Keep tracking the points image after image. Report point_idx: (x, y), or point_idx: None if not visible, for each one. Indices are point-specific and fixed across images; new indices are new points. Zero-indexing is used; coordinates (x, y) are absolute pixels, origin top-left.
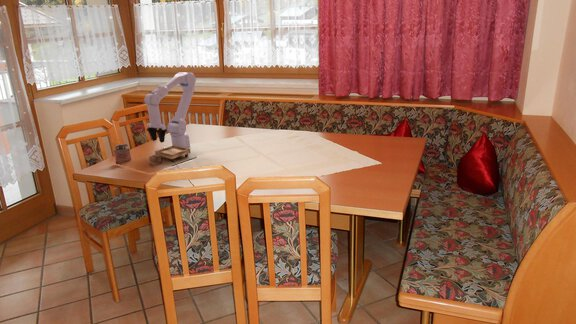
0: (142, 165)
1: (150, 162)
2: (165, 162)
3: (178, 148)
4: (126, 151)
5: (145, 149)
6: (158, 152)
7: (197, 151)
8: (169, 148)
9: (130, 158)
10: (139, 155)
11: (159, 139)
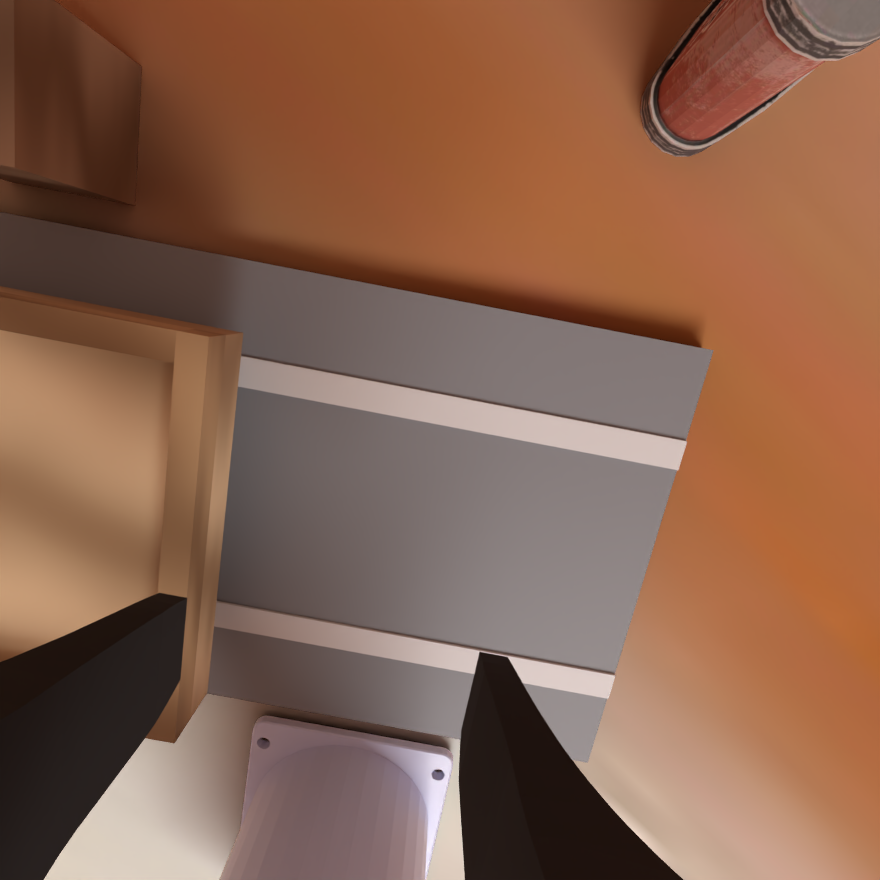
0: (295, 30)
1: (91, 35)
2: None
3: None
4: None
5: (874, 701)
6: (92, 312)
7: None
8: None
9: (672, 85)
10: (759, 446)
11: (129, 627)
